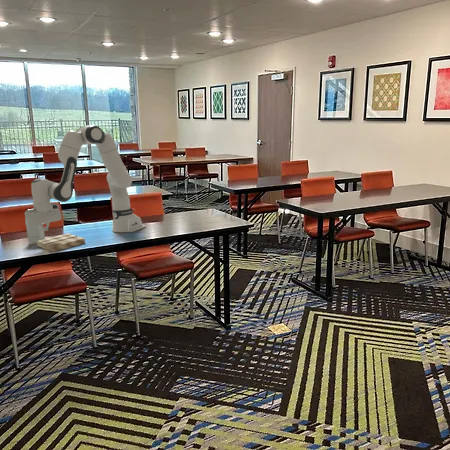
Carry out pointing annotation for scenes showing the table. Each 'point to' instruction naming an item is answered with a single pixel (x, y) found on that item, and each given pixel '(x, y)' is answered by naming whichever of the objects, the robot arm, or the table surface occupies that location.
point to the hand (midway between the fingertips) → (45, 230)
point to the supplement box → (35, 234)
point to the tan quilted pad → (53, 239)
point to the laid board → (65, 243)
